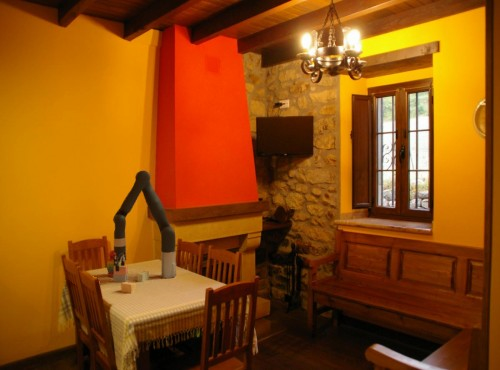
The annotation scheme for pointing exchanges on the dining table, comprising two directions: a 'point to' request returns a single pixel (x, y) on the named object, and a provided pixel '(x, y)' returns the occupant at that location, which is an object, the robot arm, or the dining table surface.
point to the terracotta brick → (121, 270)
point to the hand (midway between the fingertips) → (120, 269)
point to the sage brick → (143, 276)
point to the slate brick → (119, 278)
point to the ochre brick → (128, 287)
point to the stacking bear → (111, 264)
